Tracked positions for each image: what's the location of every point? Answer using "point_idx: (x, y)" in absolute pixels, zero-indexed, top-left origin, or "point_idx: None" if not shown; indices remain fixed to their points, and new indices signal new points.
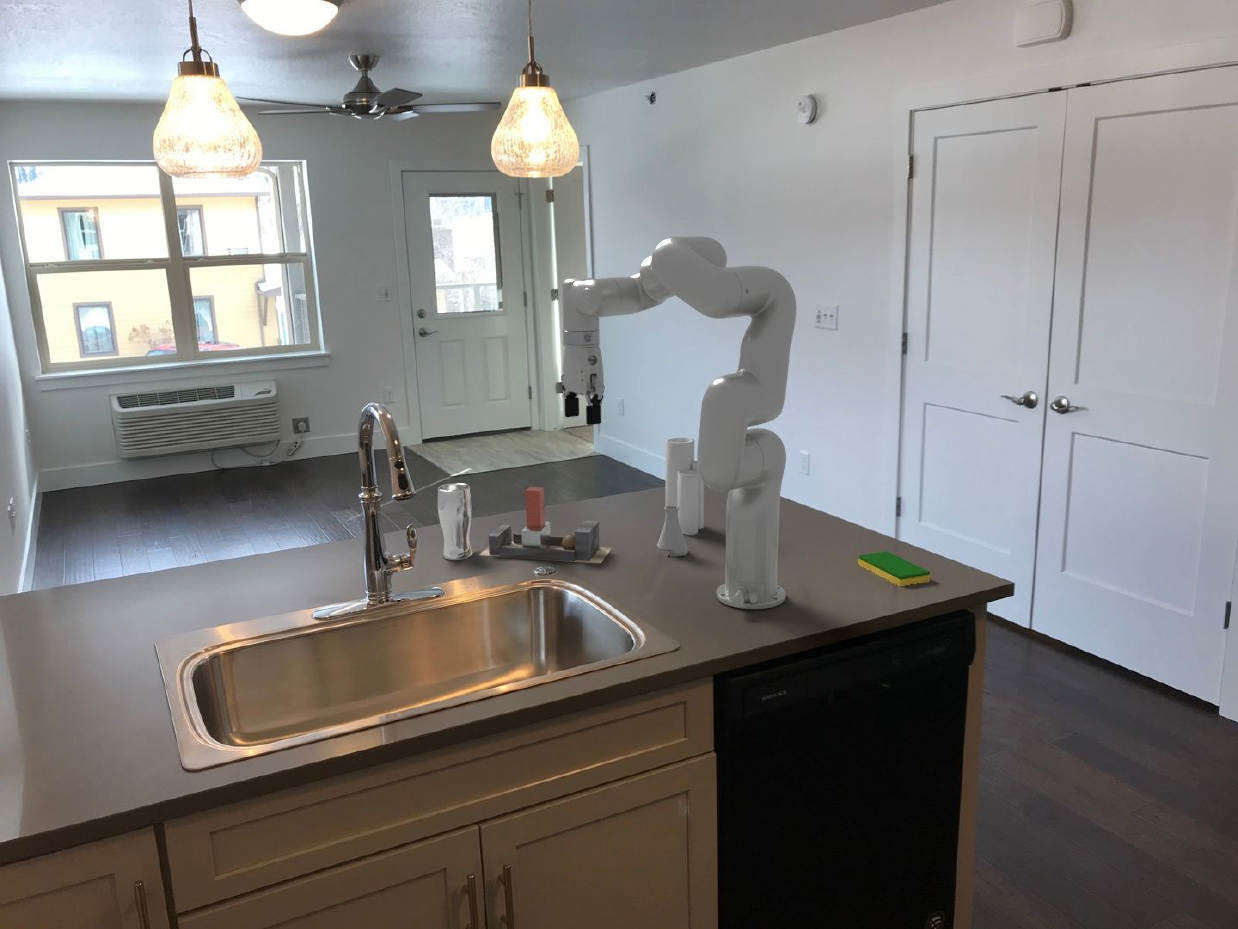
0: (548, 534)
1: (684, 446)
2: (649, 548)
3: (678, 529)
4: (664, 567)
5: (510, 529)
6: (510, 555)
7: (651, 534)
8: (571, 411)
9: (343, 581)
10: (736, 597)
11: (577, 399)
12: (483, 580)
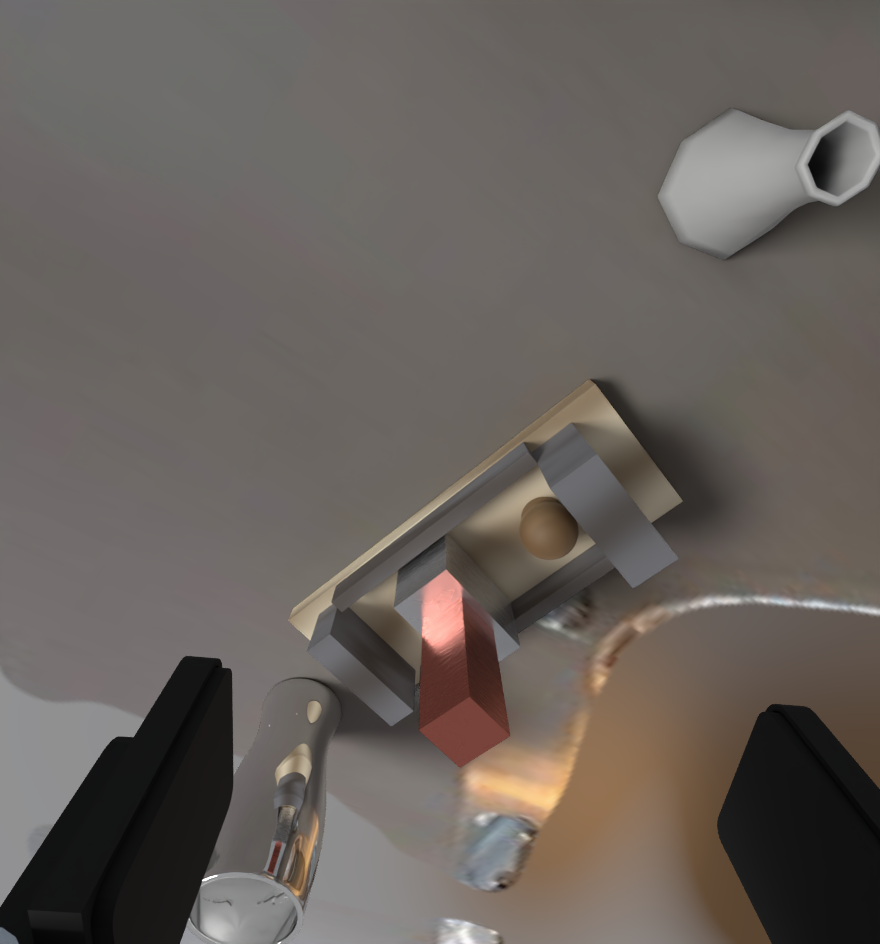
0: (461, 566)
1: None
2: (631, 228)
3: (821, 169)
4: (809, 320)
5: (336, 629)
6: None
7: (505, 94)
8: (209, 801)
9: (323, 918)
10: None
11: (124, 907)
12: (513, 736)
